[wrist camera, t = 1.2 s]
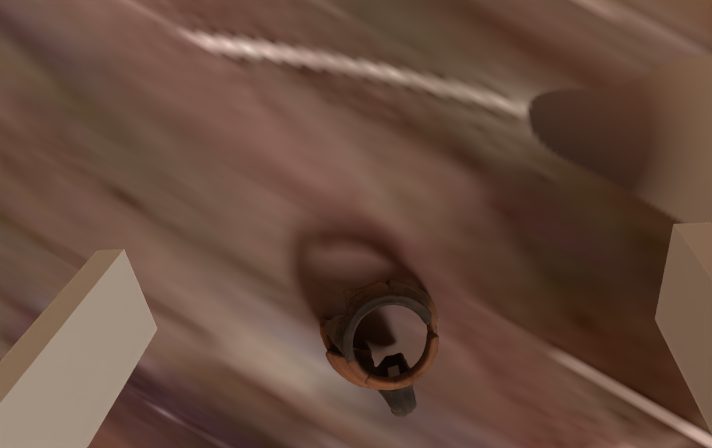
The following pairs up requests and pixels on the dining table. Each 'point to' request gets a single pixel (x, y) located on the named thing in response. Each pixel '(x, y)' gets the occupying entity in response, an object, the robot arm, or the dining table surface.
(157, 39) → the dining table surface
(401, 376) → the pottery mug
